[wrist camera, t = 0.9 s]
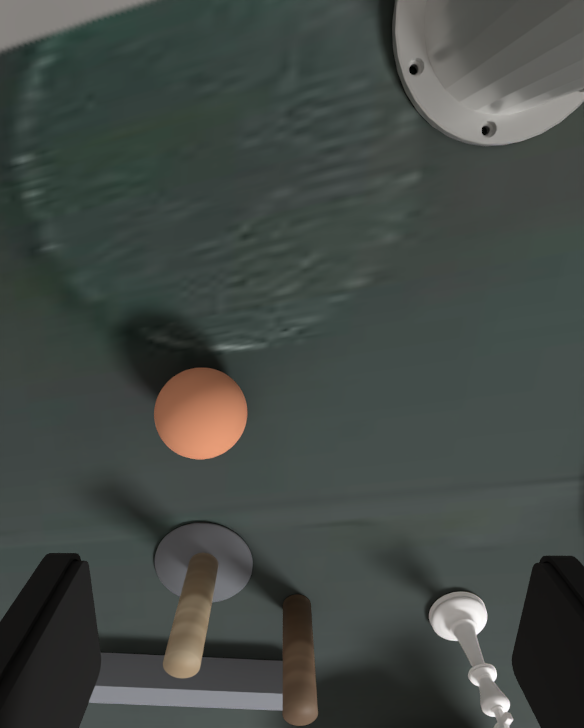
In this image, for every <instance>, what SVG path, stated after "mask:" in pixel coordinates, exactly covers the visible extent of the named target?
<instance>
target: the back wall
mask: <svg viewBox="0 0 584 728" xmlns="http://www.w3.org/2000/svg"><path fill="white" fill-rule="evenodd" d="M164 656H165V655H144V654H122V653H101V668H100V673H99V676H98V679H97V682H96V685H95V687H94V690H93V692H92V695H91V698H90V700H89V703H112V704H136V705H160V706H184V707H209V708H233V709H257V710H281V711H283V661H275V660H253V659H231V658H210V657H202V660H201V666H200V670H199V671H198V673H197V674H195V675H194V676H192V677H189V678H176V677H173V676H171V675H169V674H168V673H167V672H166V671H165V670H164V668H163V660H164Z"/></svg>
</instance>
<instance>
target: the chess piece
mask: <svg viewBox="0 0 584 728" xmlns="http://www.w3.org/2000/svg"><path fill="white" fill-rule="evenodd" d="M429 621H430V623H431V625H432V627H433V629H434V631H435V632H436V633H437V634H438V635H439V636H440V637H442V638H444V639H447V640H452V641H459V643H460V645H461V646H462V648H463V650H464V652H465V654H466V656H467V657H468V659H469V661H470V663H471V665H472V668H471V669H470V670H469V673H468V678H469V680H470V681H471V682H472V683H473V684H474V685H476V686H479V690H480V702H481V709H482V711H483V712H484V713H485V714H486V715H488V716H491V717H496V719H497V723H496V725H495V726H494V728H510V727H509V725H510V724H511V722H512V721H513V718H512V715H511V713H508V712H507V711H508V710H509V707H510V702H509V700H508V698H507V697H506V696H505V694H504V693H503V692H502V691H501V690H500V689H499V688H498V686H497V685H496V684H495V683H494V681H495V679H496V677H497V673H496V669H495V667H494V666H492V665H491V664H488V663H485V662H484V659H483V656H482V653H481V650H480V646H479V643H478V639H477V636H476V635H477V634H478V633H479V632H480V631H481V630H482V629H483V628H484V626H485V624H486V622H487V611H486V609H485V605H484V603H483V601H482V600H481V599H480V598H479V597H478V596H476V595H475V594H472V593H469V592H462V591H459V592H452V593H449V594H446V595H444V596H442V597H440V598H439V599H438V600H437V601H436V602H435V603H434V604H433V605H432V607H431V609H430V612H429Z"/></svg>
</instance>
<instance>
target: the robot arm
mask: <svg viewBox="0 0 584 728" xmlns="http://www.w3.org/2000/svg"><path fill="white" fill-rule="evenodd" d="M392 39H393V53H394V57H395V62H396V67H397V72H398V75H399V77H400V80H401V82H402V85H403V87H404V90H405V92H406V94H407V96H408V97H409V99H410V101H411V102H412V104H413V105H414V107H415V108H416V110H417V111H418V112H419V113H420V115H421V116H422V117H423V118H424V119H425V120H426V121H427V122H428V123H429V124H430V125H431V126H433V127H434V128H436V129H437V130H439V131H440V132H442V133H443V134H445V135H446V136H448V137H450V138H453V139H455V140H458V141H461V142H463V143H466V144H472V145H479V146H499V145H507V144H511V143H516V142H520V141H523V140H526V139H529V138H531V137H534V136H537V135H539V134H542V133H543V132H545V131H547V130H548V129H550V128H552V127H553V126H555V125H557V124H558V123H560V122H561V121H563V120H564V119H565V118H566V117H567V116H568V115H570V114H571V113H572V112H573V111H574V110H575V109H577V108H578V107H579V106H580V105H581V104H582V102H583V101H584V0H395V5H394V13H393V21H392ZM411 66H413V67H415V68H416V75H412V74H411V73H410V72H409V68H410V67H411ZM482 127H485V128H486V129H487V133H486V135H485V136H484V135H483V134H482ZM512 666H513V671H514V674H515V676H516V679H517V681H518V683H519V685H520V687H521V689H522V691H523V693H524V695H525V697H526V699H527V701H528V703H529V705H530V707H531V709H532V711H533V713H534V715H535V717H536V719H537V721H538V723H539V725H540V727H541V728H584V566H583V565H582V564H581V563H580V562H579V561H578V560H577V559H576V558H575V557H573V556H543V557H542V558H541V560H540V562H539V563H535V564H534V566H533V568H532V573H531V577H530V581H529V586H528V590H527V594H526V599H525V603H524V607H523V612H522V616H521V620H520V625H519V629H518V633H517V637H516V642H515V646H514V650H513V655H512ZM100 668H101V652H100V645H99V637H98V630H97V622H96V615H95V608H94V600H93V593H92V585H91V578H90V571H89V565H88V562H87V561H81V559H80V556H79V554H77V553H49V554H47V555H46V556H45V557H44V558H43V559H42V561H41V562H40V564H39V565H38V567H37V568H36V570H35V571H34V573H33V574H32V576H31V577H30V579H29V580H28V582H27V583H26V585H25V586H24V588H23V589H22V591H21V592H20V593H19V595H18V596H17V598H16V599H15V601H14V602H13V604H12V605H11V607H10V608H9V610H8V611H7V613H6V614H5V616H4V617H3V619H2V620H1V622H0V728H79V726H80V723H81V721H82V718H83V716H84V713H85V710H86V708H87V705H88V703H89V700H90V698H91V695H92V692H93V690H94V687H95V685H96V682H97V679H98V676H99V673H100Z"/></svg>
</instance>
